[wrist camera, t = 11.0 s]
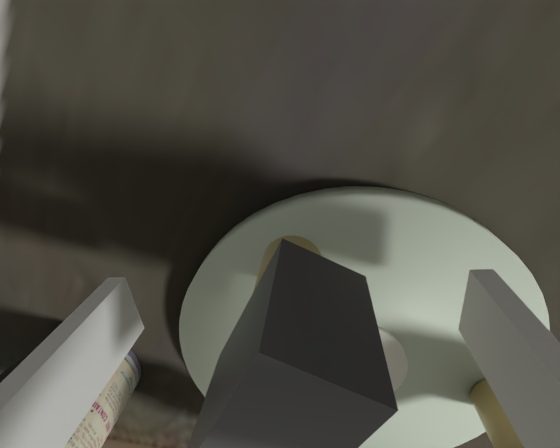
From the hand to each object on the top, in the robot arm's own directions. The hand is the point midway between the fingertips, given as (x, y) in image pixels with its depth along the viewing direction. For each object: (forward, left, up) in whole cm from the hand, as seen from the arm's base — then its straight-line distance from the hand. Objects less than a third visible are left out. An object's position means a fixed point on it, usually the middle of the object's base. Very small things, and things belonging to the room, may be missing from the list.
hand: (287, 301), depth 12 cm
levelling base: (+6, +5, -4) cm, 9 cm away
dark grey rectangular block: (0, 0, -3) cm, 3 cm away
